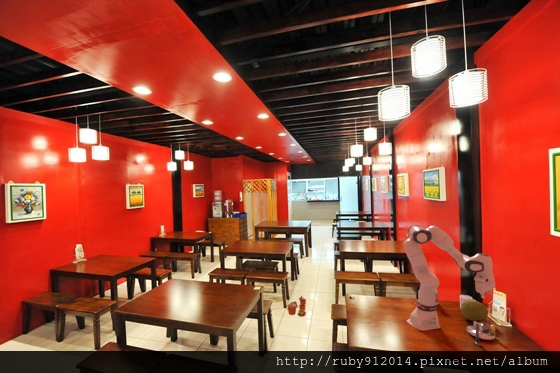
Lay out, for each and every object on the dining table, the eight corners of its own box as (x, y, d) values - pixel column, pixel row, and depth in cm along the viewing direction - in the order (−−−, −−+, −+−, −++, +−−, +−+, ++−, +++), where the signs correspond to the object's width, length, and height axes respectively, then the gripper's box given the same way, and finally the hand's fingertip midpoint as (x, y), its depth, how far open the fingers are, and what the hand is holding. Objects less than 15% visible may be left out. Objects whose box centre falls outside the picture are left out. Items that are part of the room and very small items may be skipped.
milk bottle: (425, 302, 217) (424, 279, 217) (433, 301, 218) (433, 278, 218) (431, 306, 210) (430, 282, 210) (440, 305, 210) (439, 282, 210)
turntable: (486, 342, 158) (485, 331, 158) (461, 330, 172) (461, 319, 172) (500, 336, 164) (500, 325, 164) (475, 325, 178) (475, 315, 178)
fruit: (484, 318, 189) (484, 298, 189) (491, 327, 176) (490, 306, 176) (459, 314, 196) (458, 295, 196) (463, 323, 183) (463, 302, 183)
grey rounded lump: (486, 333, 166) (486, 326, 166) (477, 328, 172) (476, 321, 172) (492, 331, 168) (492, 324, 168) (482, 326, 174) (482, 319, 174)
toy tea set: (305, 318, 197) (305, 306, 197) (286, 317, 200) (286, 305, 200) (308, 303, 223) (307, 292, 223) (290, 302, 226) (290, 291, 226)
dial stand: (479, 346, 156) (478, 325, 156) (471, 342, 160) (471, 322, 160) (483, 345, 158) (482, 324, 158) (475, 341, 162) (475, 321, 162)
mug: (476, 308, 204) (475, 296, 204) (480, 313, 196) (479, 300, 196) (458, 306, 208) (458, 294, 208) (462, 311, 200) (461, 298, 200)
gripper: (486, 272, 183) (488, 291, 183) (472, 278, 174) (474, 298, 174) (497, 274, 178) (498, 294, 178) (483, 281, 168) (484, 301, 168)
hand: (486, 296), depth 176 cm, fingers open, 8 cm apart
